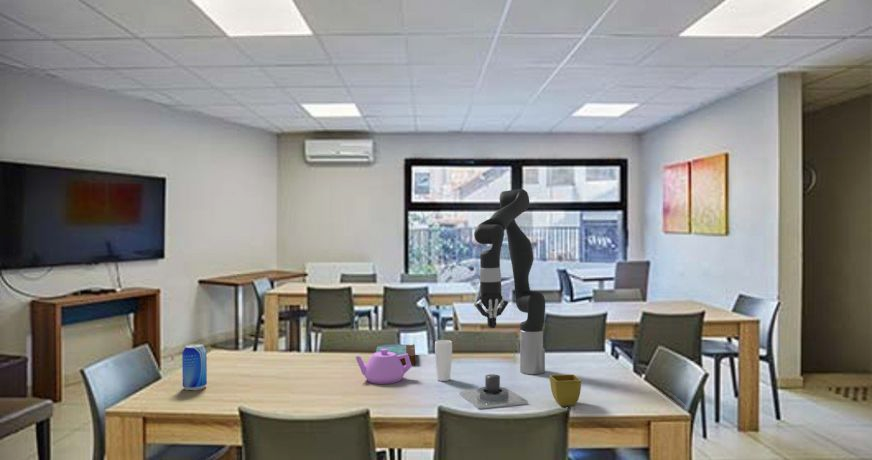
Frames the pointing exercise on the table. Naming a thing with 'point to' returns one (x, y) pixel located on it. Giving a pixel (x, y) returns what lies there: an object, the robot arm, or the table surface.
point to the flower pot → (565, 389)
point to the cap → (492, 383)
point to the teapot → (384, 367)
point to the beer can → (194, 367)
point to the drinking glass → (443, 359)
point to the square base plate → (492, 398)
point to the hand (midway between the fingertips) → (491, 327)
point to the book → (400, 351)
